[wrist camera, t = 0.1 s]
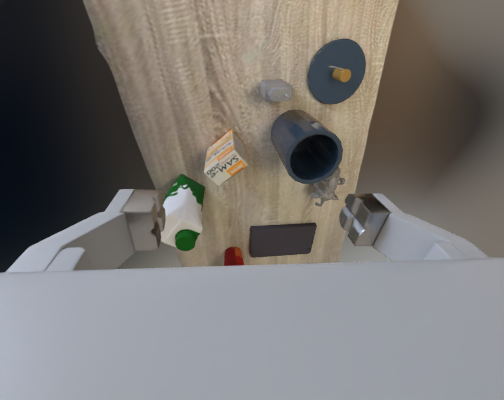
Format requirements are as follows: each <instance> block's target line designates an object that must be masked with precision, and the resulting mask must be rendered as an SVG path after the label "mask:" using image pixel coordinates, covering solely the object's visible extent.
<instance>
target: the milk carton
mask: <svg viewBox="0 0 504 400" xmlns="http://www.w3.org/2000/svg"><path fill="white" fill-rule="evenodd" d="M204 190H205V187H204V186H202V185H201V184H199V183H197V182H195V181H194V180H192V179H190V178H188V177H186V176H185V175H183V174H181V175H180V177H179V178H178V179H177V180H176V182H175V183H174V184H173V186H172V187H171V188H170V190H169V191H168V193H167V194H166V196H165V199H164V202H163V204H162V206H163V207H164V208H165V213H166V221H165V227H164V231H162V232H161V241H163V243H166V244H169V245H172V246H174V247H176V248H178V249H180V250H182V251H189V250H191V249H193V248H194V246H195V241H196V239H197V237H198V235H199V234H200V232H201V231H202V230H203V228H202V223H201V216H202V206H203V198H204Z"/></svg>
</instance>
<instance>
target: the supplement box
mask: <svg viewBox="0 0 504 400" xmlns="http://www.w3.org/2000/svg"><path fill="white" fill-rule="evenodd" d="M247 165H248V162H247V158H246V153H245V148H244V144H243V142H242V140H241V139H240V138H239V137H238V136H237V135H236V133H235V132H234V131H233V130H232V129H231V130H230V131H229V132H227V133H226V134H225V135H224V136H223V137H222V138H220V139H219V140H218V141H217V142H216V143H214V144H213V145H211V146H210V147H209V148H208V149H207V155H206V162H205V170H204V173H205V174H206V175H207V176H208V177H209V178H210V179H211V180H212V181H213V182H214V183H215V184H216V185H217V186H220V185H222V184H223V183H224V182H226V181H227V180H228V179H230V178H231V177H232V176H234V175H235V174H237V173H238V172H239V171H241V170H242V169H243V168H245V167H246V166H247Z"/></svg>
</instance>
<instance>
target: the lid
mask: <svg viewBox="0 0 504 400" xmlns="http://www.w3.org/2000/svg"><path fill="white" fill-rule="evenodd" d="M365 67H366V62H365V56H364V53H363V51H362V49H361V47H360V46H359V45H358V44H357V43H356V42H354V41H352V40H349V39H337V40H334V41H331V42H329V43H328V44H326V45H325V46H324V47H323V48H322V49H321V50H320V51H319V52H318V53H317V54H316V56H315V58H314V59H313V61H312V64H311V67H310V70H309V86H310V89H311V91H312V93H313V95H314V96H315V97H316V98H317V99H318V100H319V101H321V102H323V103H326V104H337V103H340V102H342V101H344V100H346V99H348V98H349V97H350V96H351V95H353V94H354V92H355V91H356V90H357V89H358V87H359V86H360V84H361V82H362V80H363V77H364V73H365Z"/></svg>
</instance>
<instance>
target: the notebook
mask: <svg viewBox="0 0 504 400" xmlns="http://www.w3.org/2000/svg"><path fill="white" fill-rule="evenodd" d="M316 227H317V226H316V224H315V223H305V224H287V225H269V226H251V239H250V254H251V255H250V256H251V257H267V256H282V255H296V254H308V253H310V252H311V247H312V243H313V239H314V235H315V231H316Z"/></svg>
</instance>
